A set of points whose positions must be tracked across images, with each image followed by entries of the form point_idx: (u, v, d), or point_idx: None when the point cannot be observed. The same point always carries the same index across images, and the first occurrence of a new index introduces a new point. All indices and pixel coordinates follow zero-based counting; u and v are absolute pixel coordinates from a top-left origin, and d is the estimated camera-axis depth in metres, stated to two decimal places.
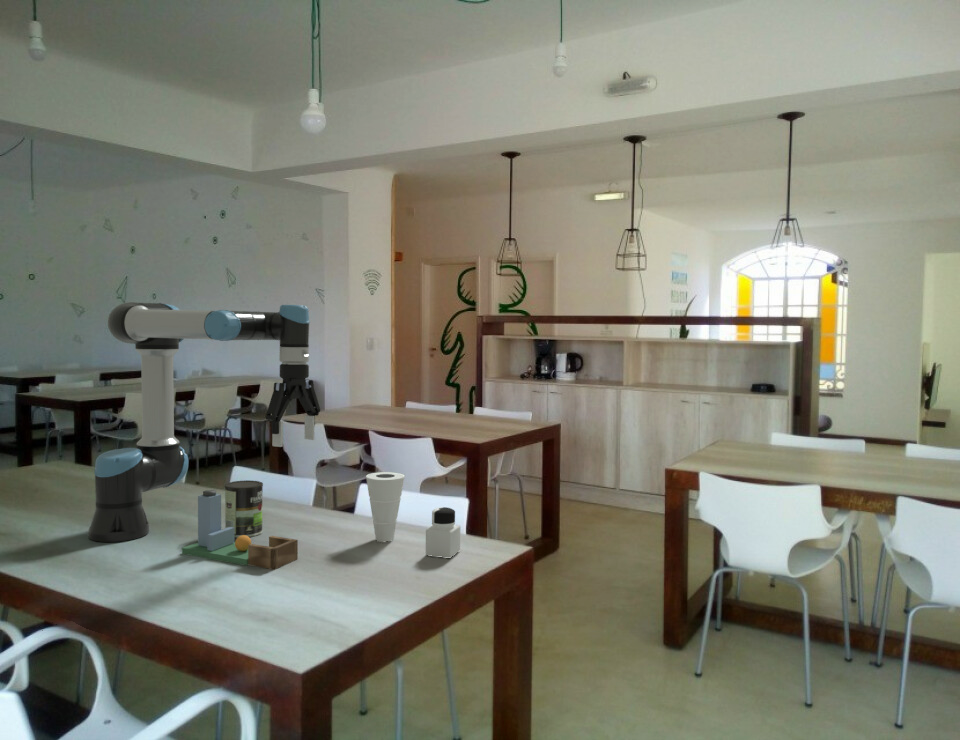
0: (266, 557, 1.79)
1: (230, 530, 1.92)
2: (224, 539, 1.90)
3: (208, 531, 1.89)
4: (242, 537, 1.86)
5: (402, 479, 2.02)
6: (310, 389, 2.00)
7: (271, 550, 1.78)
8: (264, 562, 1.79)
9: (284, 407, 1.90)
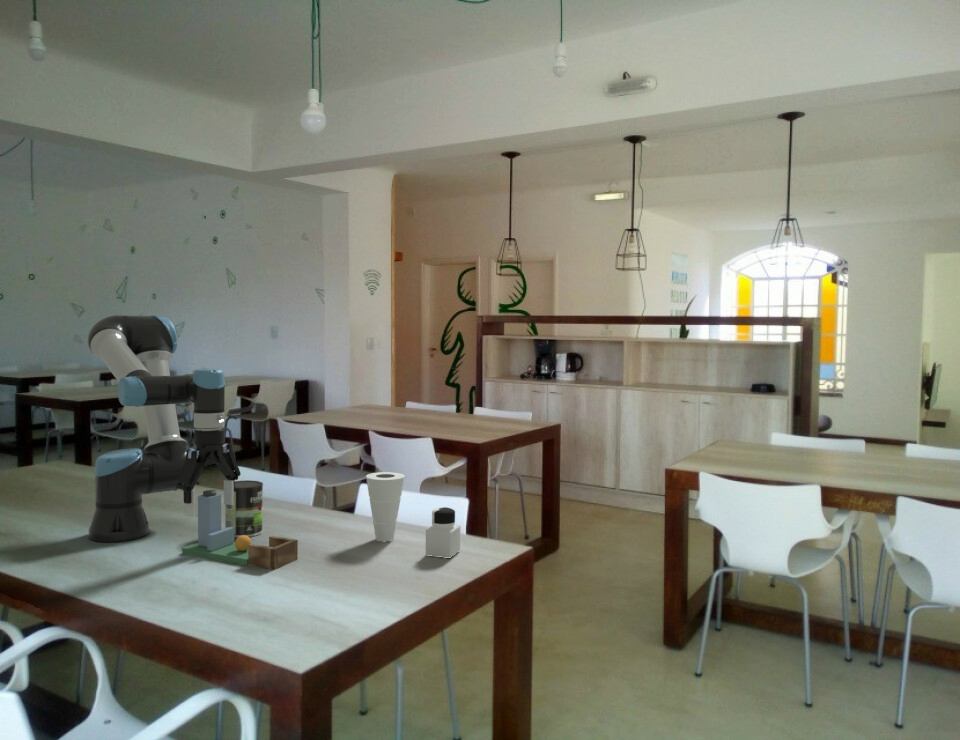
0: (266, 557, 1.79)
1: (230, 530, 1.92)
2: (224, 539, 1.90)
3: (208, 531, 1.89)
4: (242, 537, 1.86)
5: (402, 479, 2.02)
6: (228, 453, 1.95)
7: (271, 550, 1.78)
8: (264, 562, 1.79)
9: (197, 475, 1.85)
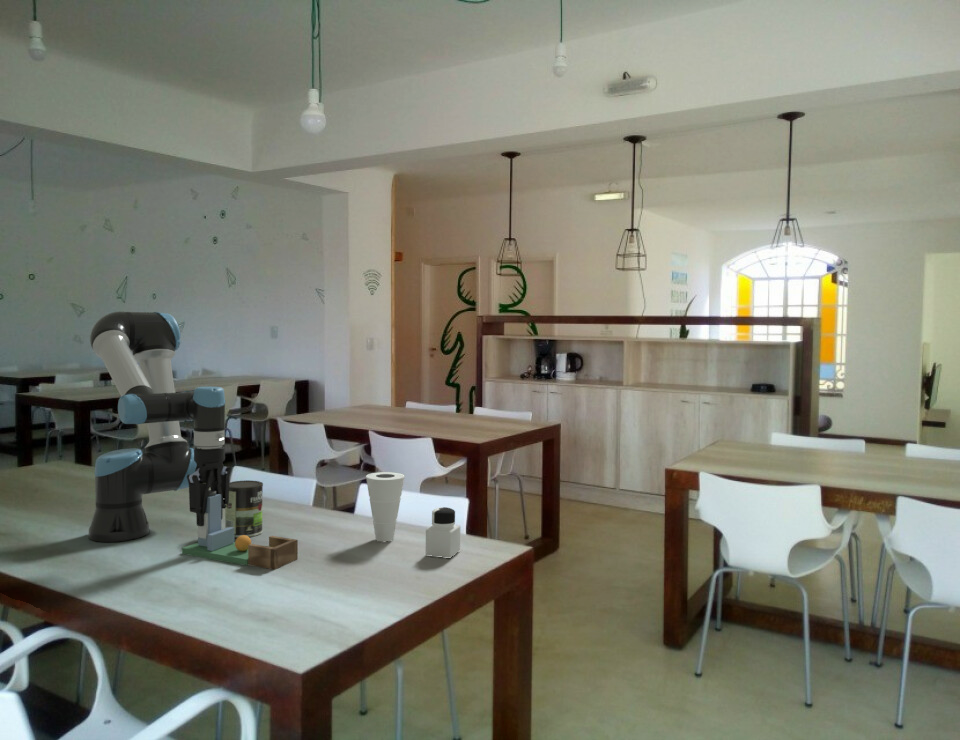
0: (266, 557, 1.79)
1: (230, 530, 1.92)
2: (224, 539, 1.90)
3: (208, 531, 1.89)
4: (242, 537, 1.86)
5: (402, 479, 2.02)
6: (225, 476, 1.95)
7: (271, 550, 1.78)
8: (264, 562, 1.79)
9: (205, 497, 1.88)
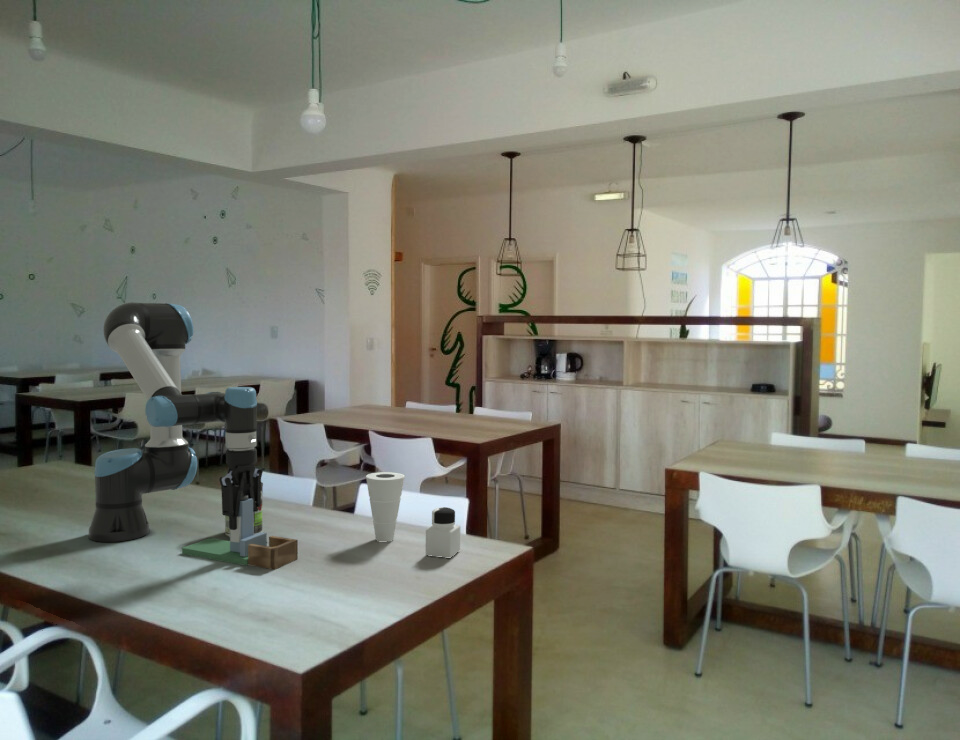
0: (266, 557, 1.79)
1: (262, 535, 1.88)
2: None
3: (241, 536, 1.85)
4: None
5: (402, 479, 2.02)
6: (257, 478, 1.91)
7: (271, 550, 1.78)
8: (264, 562, 1.79)
9: (238, 500, 1.84)
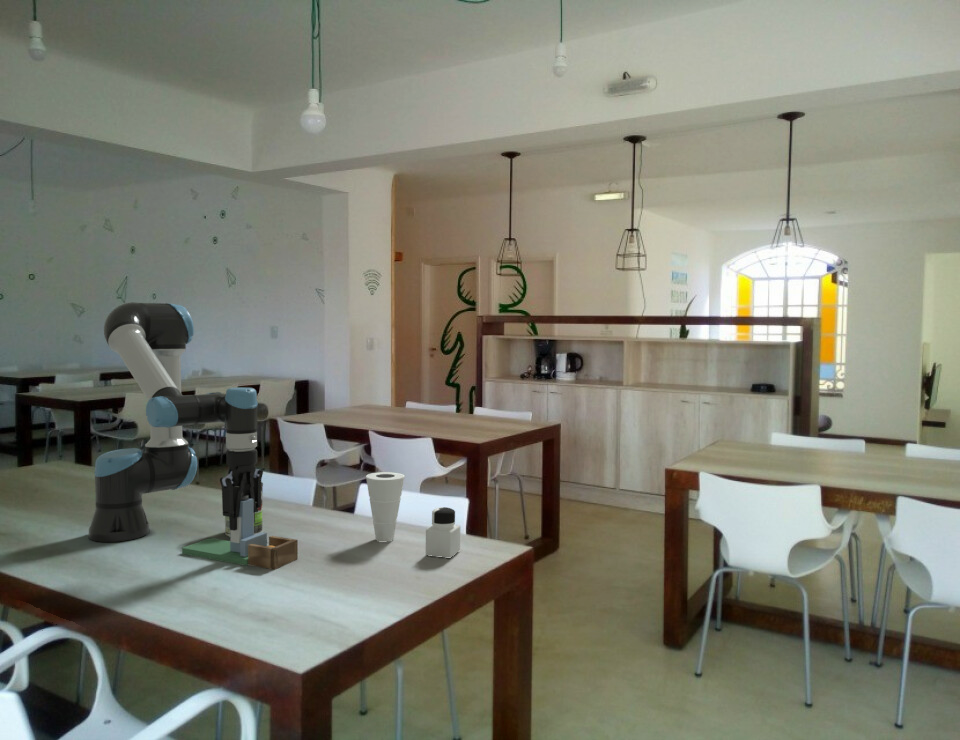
0: (266, 557, 1.79)
1: (263, 535, 1.88)
2: None
3: (241, 536, 1.85)
4: None
5: (402, 479, 2.02)
6: (257, 479, 1.91)
7: (271, 550, 1.78)
8: (264, 562, 1.79)
9: (238, 500, 1.84)
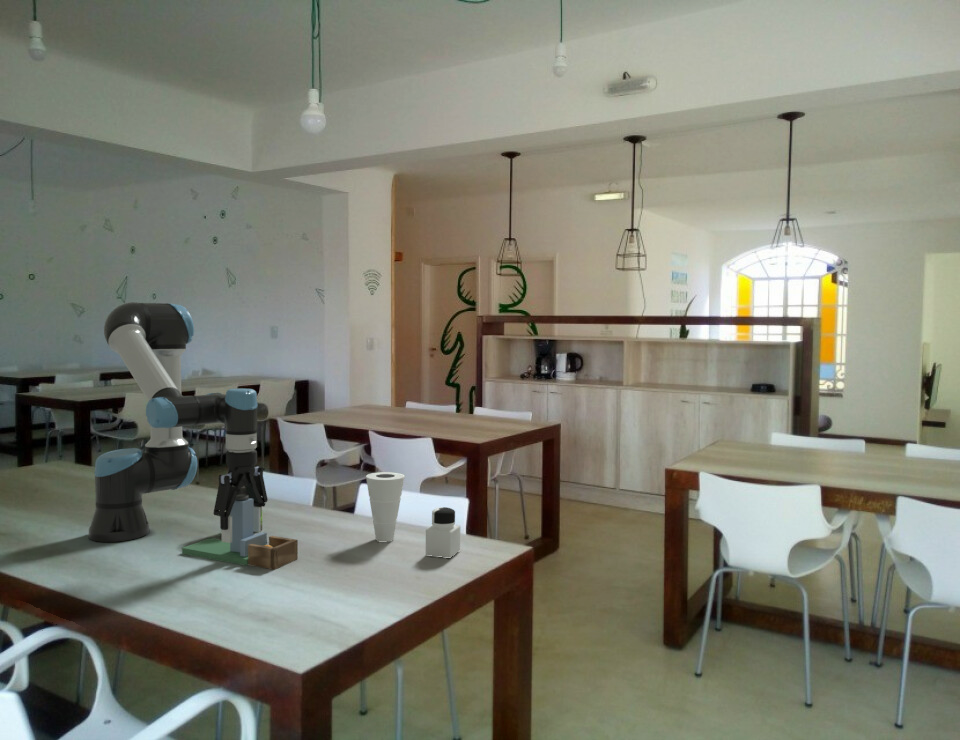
0: (266, 557, 1.79)
1: (263, 535, 1.88)
2: None
3: (241, 536, 1.85)
4: None
5: (402, 479, 2.02)
6: (259, 476, 1.91)
7: (271, 550, 1.78)
8: (264, 562, 1.79)
9: (232, 500, 1.82)
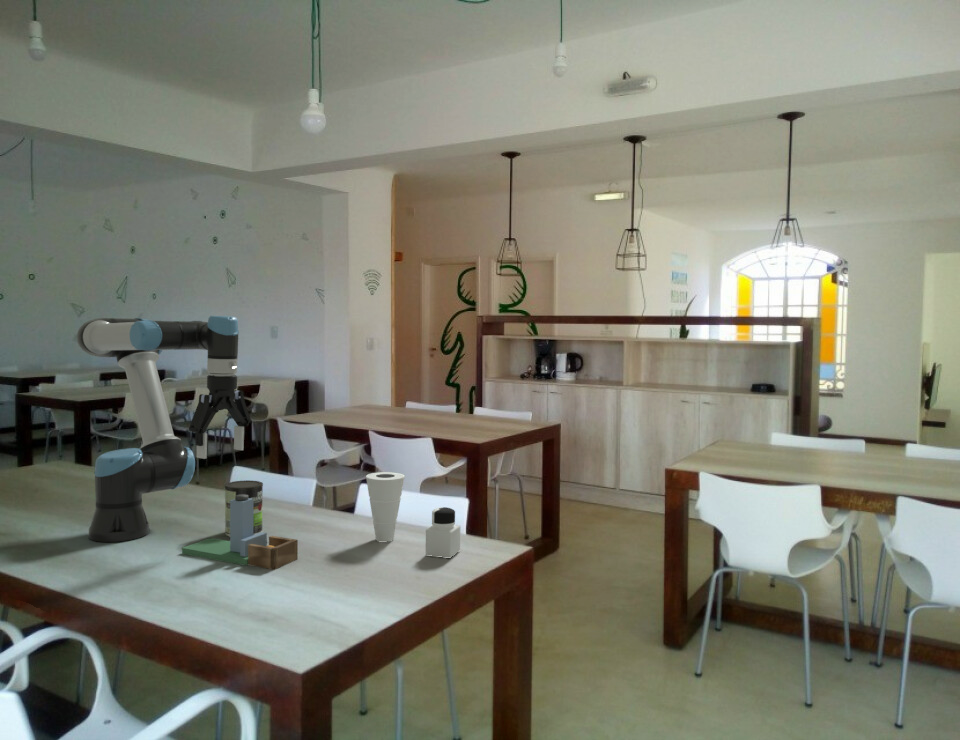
0: (266, 557, 1.79)
1: (263, 535, 1.88)
2: None
3: (241, 536, 1.85)
4: None
5: (402, 479, 2.02)
6: (240, 400, 2.00)
7: (271, 550, 1.78)
8: (264, 562, 1.79)
9: (209, 419, 1.89)
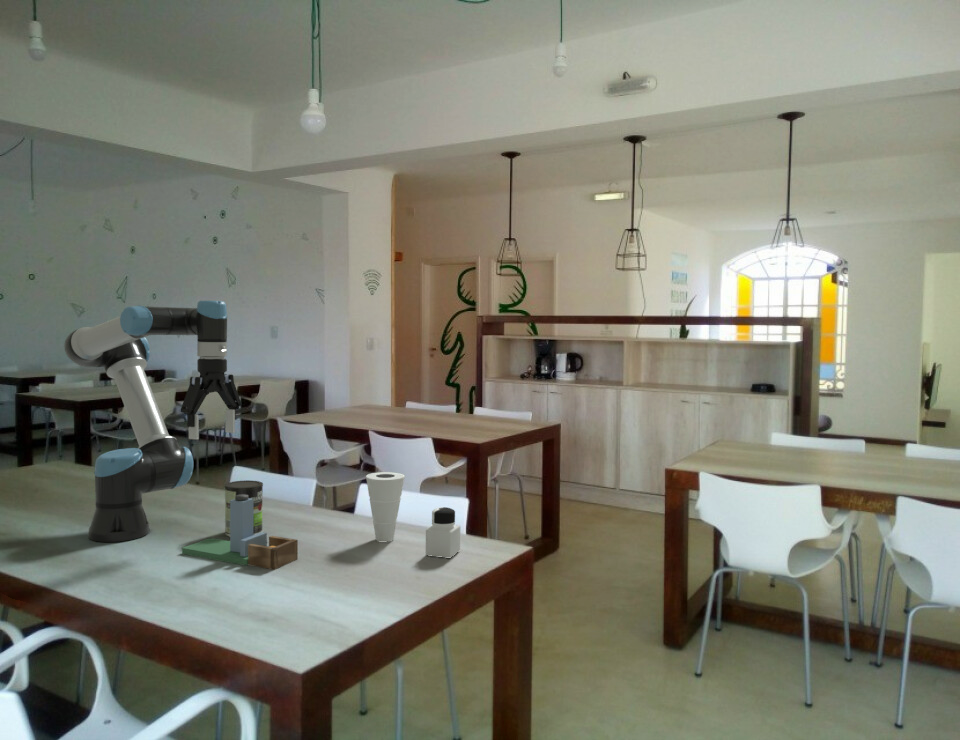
0: (266, 557, 1.79)
1: (263, 535, 1.88)
2: None
3: (241, 536, 1.85)
4: None
5: (402, 479, 2.02)
6: (230, 383, 2.04)
7: (271, 550, 1.78)
8: (264, 562, 1.79)
9: (200, 401, 1.94)
